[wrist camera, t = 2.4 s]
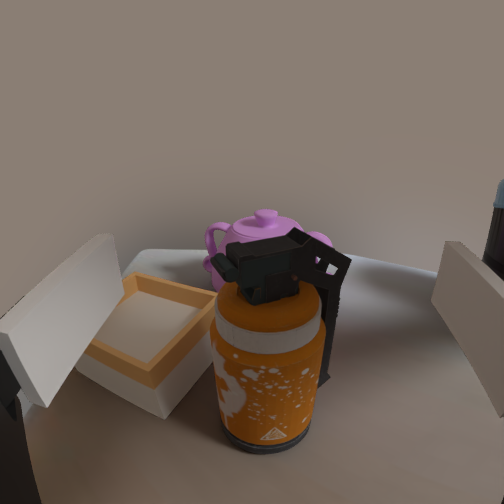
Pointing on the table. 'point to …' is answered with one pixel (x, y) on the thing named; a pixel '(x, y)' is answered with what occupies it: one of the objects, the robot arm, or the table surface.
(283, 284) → the canister
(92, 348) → the orange-rimmed open box
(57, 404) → the table surface
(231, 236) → the teapot
